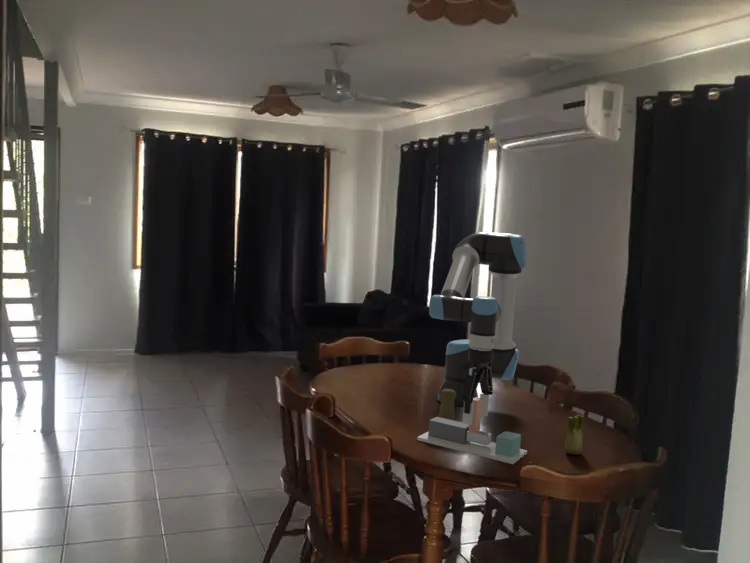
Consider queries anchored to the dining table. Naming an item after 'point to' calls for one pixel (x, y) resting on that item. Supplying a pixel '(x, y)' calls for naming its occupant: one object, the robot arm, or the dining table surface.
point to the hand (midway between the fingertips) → (475, 419)
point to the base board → (473, 448)
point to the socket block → (508, 444)
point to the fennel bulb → (574, 436)
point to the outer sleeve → (448, 430)
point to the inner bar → (477, 426)
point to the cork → (447, 404)
